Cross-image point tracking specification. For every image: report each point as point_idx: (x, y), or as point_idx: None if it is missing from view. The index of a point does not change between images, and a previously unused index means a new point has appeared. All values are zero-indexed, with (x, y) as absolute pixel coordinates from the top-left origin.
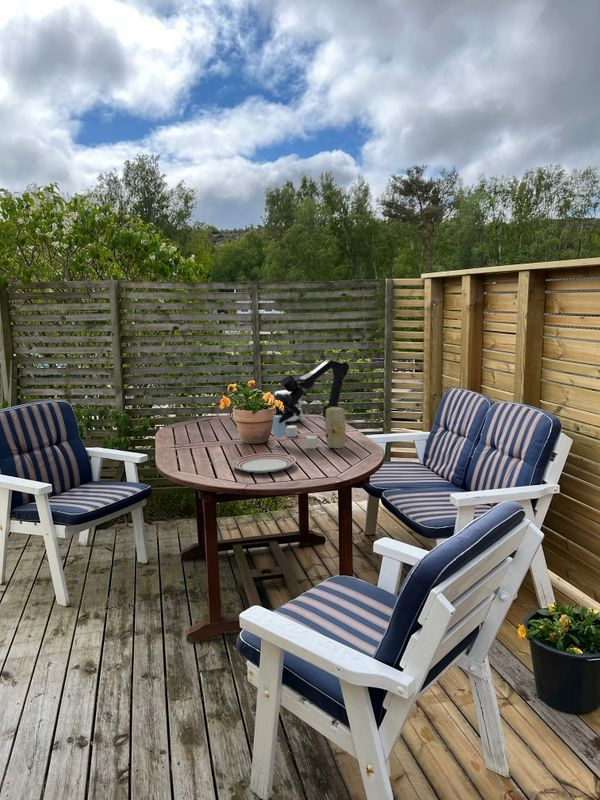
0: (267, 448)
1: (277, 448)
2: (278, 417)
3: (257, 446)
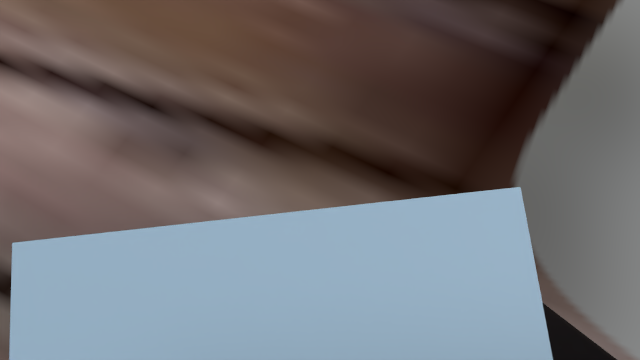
0: (216, 106)
1: (126, 221)
2: (26, 306)
3: (403, 43)
